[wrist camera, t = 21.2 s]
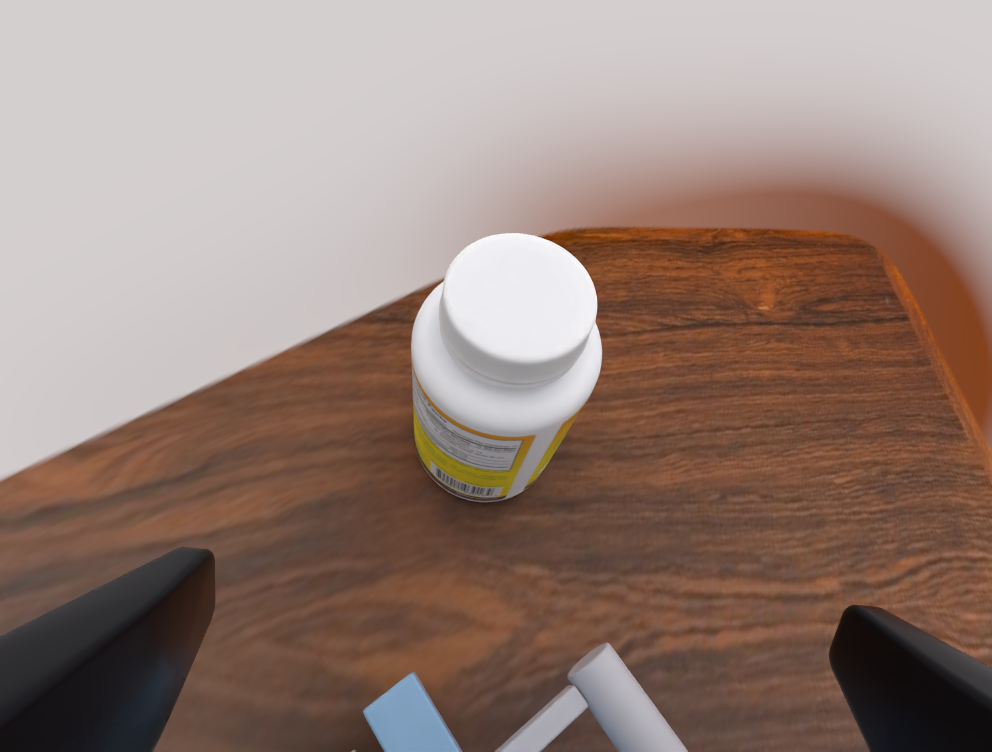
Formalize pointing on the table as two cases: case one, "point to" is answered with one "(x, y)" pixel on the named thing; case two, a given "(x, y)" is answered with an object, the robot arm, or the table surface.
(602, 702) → the drawer
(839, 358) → the table surface
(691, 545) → the table surface
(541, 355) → the supplement bottle
